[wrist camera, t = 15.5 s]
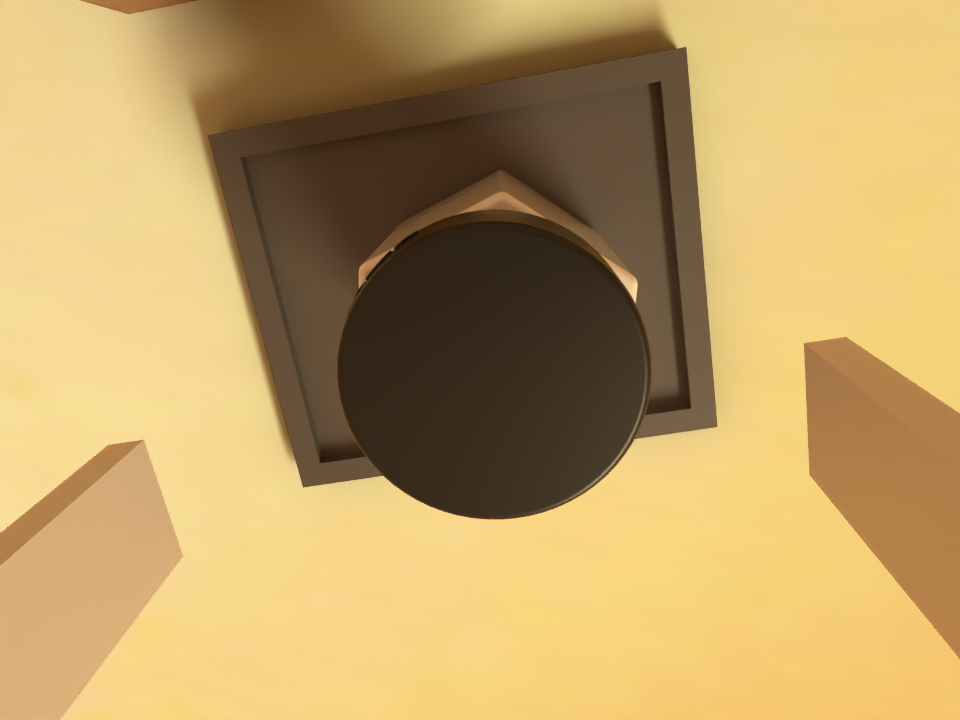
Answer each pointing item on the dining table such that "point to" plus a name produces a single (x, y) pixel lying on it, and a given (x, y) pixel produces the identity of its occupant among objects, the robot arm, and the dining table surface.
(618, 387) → the jar
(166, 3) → the crate
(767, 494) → the dining table surface
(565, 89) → the tray
